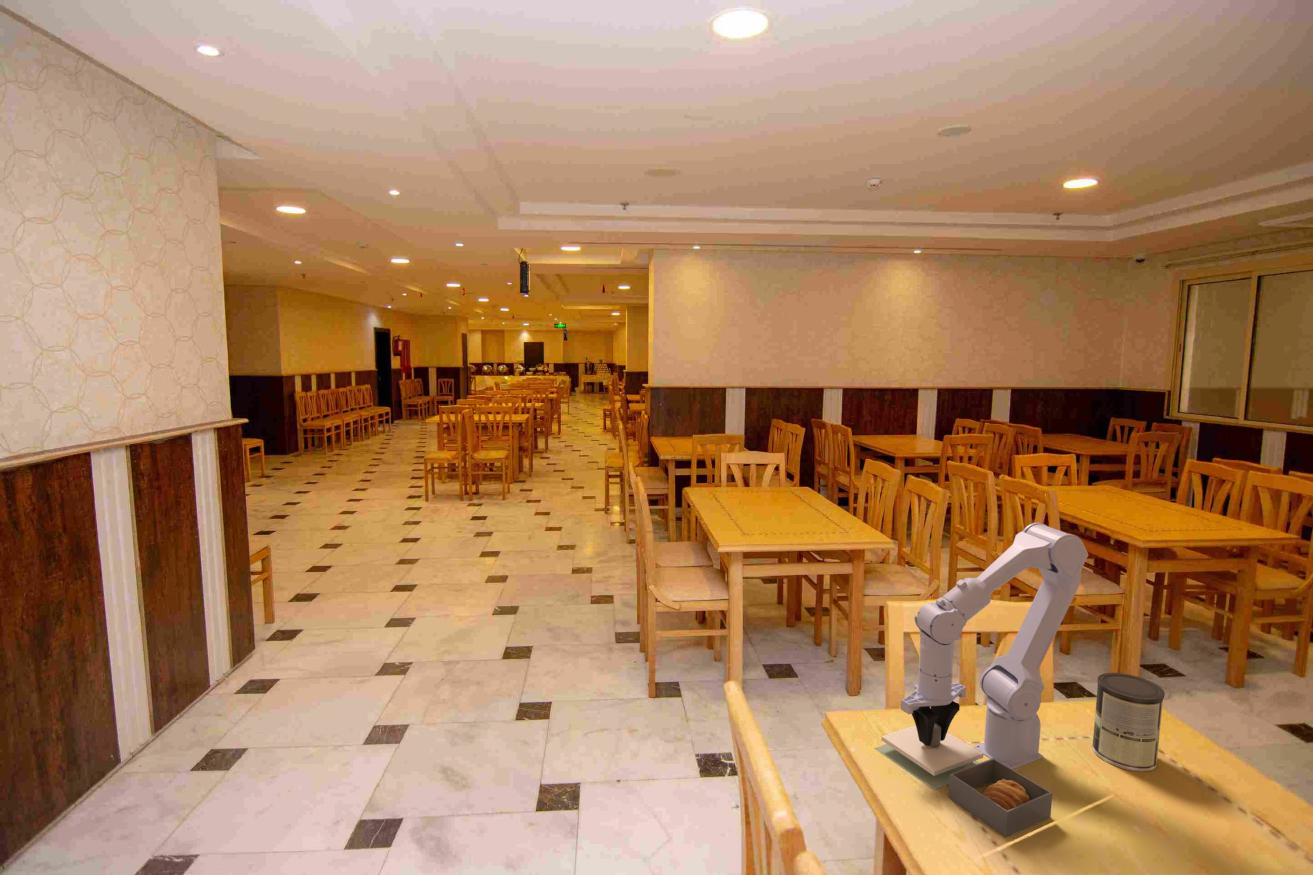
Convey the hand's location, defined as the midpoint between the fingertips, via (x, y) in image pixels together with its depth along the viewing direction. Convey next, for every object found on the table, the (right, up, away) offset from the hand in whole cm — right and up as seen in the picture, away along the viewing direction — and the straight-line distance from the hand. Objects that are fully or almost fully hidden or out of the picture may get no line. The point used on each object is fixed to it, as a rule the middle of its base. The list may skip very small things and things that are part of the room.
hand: (931, 740), depth 128 cm
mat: (0, -4, +1) cm, 4 cm away
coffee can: (+37, -4, +2) cm, 37 cm away
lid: (0, -2, 0) cm, 2 cm away
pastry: (+7, -6, -13) cm, 16 cm away
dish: (+6, -6, -13) cm, 16 cm away
